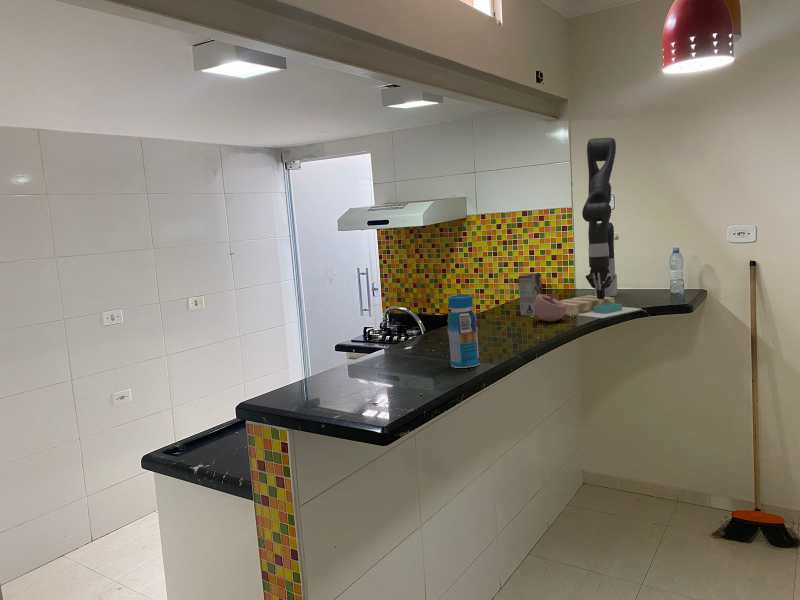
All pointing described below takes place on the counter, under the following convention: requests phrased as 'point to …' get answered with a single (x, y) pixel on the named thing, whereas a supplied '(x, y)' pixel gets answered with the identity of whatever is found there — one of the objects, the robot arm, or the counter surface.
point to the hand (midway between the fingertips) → (600, 299)
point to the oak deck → (584, 304)
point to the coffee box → (529, 292)
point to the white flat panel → (600, 315)
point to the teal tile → (607, 308)
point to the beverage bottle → (462, 332)
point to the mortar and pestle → (549, 307)
